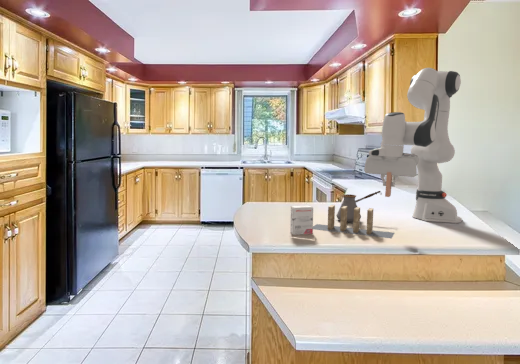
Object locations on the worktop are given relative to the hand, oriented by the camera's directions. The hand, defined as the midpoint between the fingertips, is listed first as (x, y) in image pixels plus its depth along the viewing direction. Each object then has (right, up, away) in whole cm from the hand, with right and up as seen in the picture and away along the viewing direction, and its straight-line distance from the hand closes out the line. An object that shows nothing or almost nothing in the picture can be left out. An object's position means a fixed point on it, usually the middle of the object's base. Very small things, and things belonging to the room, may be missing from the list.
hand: (388, 186), depth 158 cm
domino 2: (-17, -19, +8) cm, 27 cm away
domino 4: (-7, -20, +4) cm, 21 cm away
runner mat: (-14, -20, +7) cm, 25 cm away
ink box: (-35, -20, +3) cm, 41 cm away
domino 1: (-22, -19, +11) cm, 31 cm away
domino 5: (0, -4, 0) cm, 4 cm away
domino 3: (-12, -19, +6) cm, 23 cm away
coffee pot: (-6, -18, +27) cm, 33 cm away
